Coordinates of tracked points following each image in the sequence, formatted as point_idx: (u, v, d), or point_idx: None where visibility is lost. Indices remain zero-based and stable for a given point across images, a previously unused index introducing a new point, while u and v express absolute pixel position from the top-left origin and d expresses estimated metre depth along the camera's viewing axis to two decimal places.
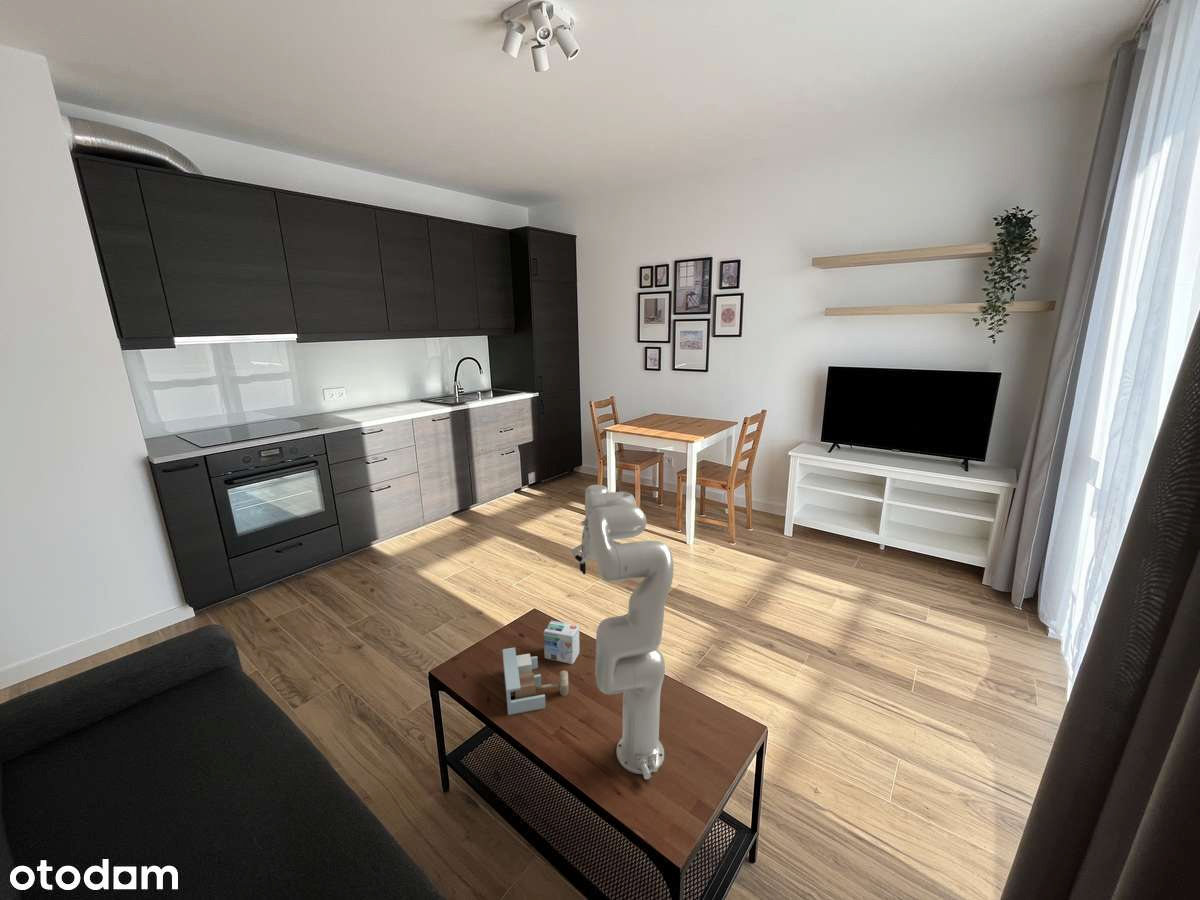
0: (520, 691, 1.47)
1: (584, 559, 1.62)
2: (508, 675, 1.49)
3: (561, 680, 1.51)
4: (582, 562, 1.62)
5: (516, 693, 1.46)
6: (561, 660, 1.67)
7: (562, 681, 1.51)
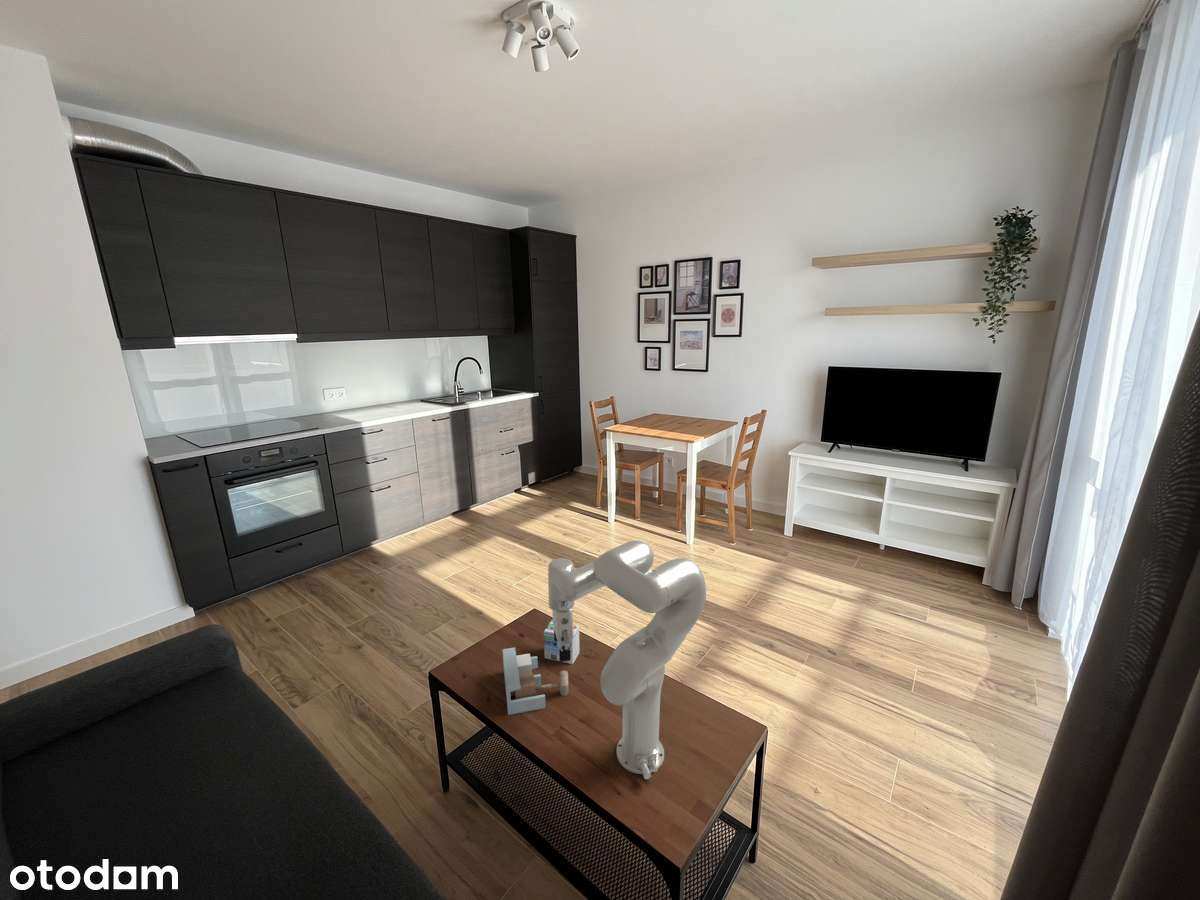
0: (520, 691, 1.47)
1: (569, 643, 1.45)
2: (508, 675, 1.49)
3: (561, 680, 1.51)
4: (569, 648, 1.44)
5: (516, 693, 1.46)
6: None
7: (562, 681, 1.51)
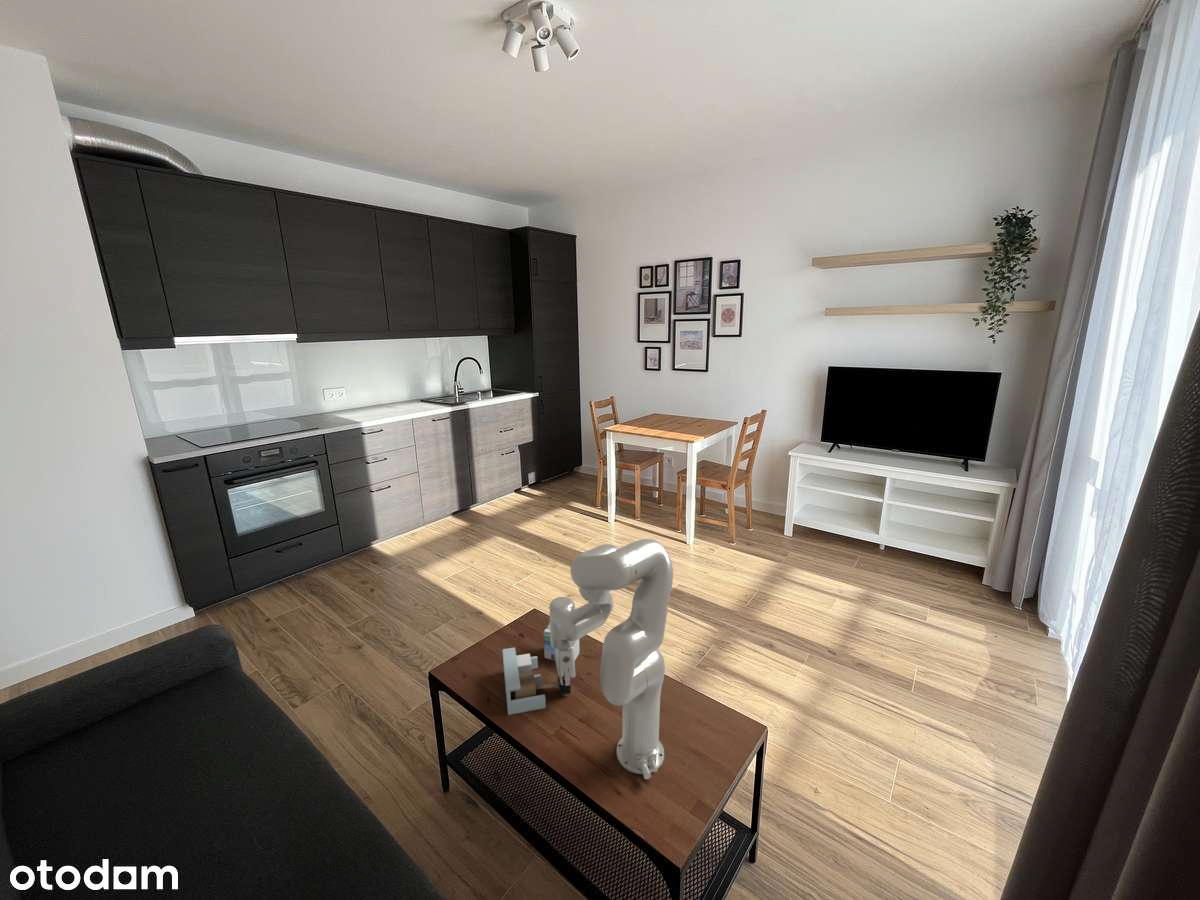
0: (520, 691, 1.47)
1: (569, 678, 1.50)
2: (508, 675, 1.49)
3: None
4: None
5: (516, 693, 1.46)
6: None
7: None
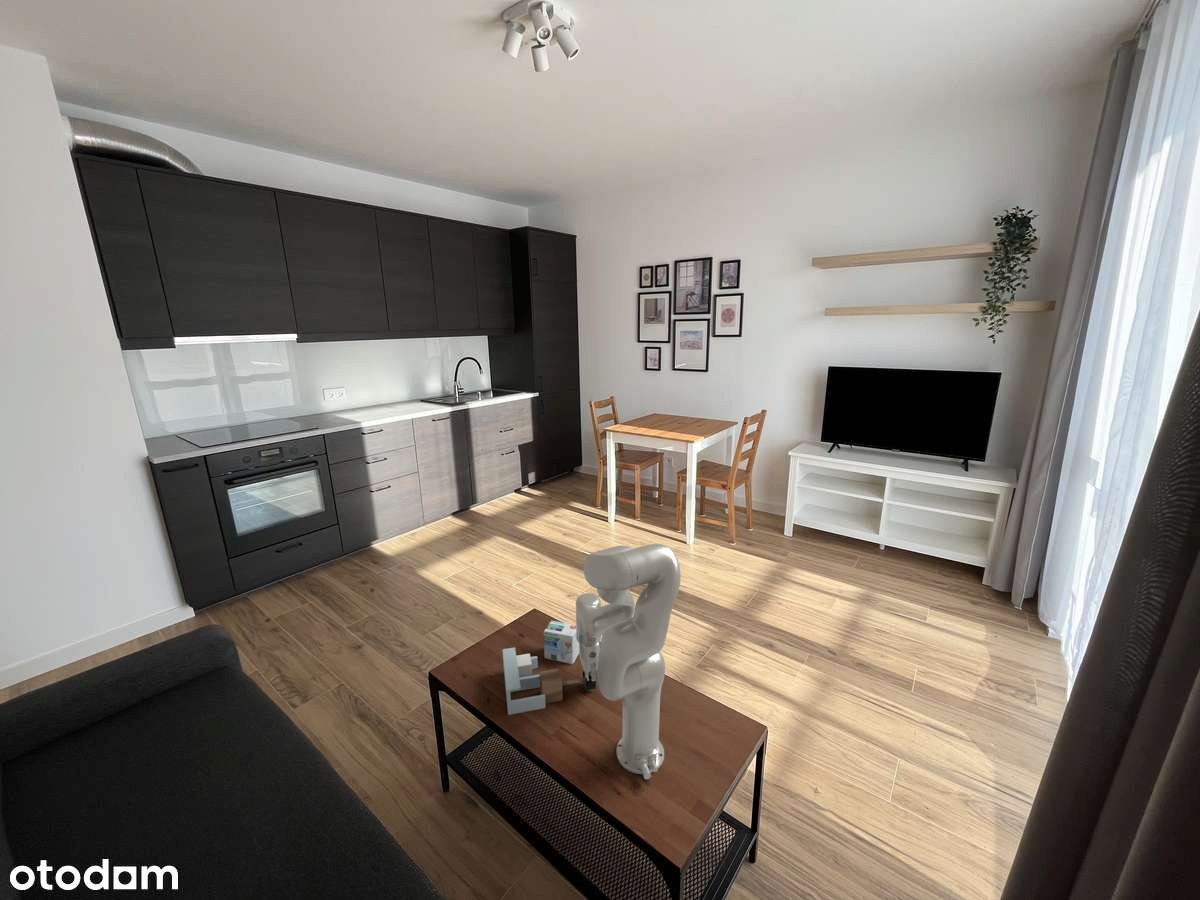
0: (547, 686, 1.48)
1: None
2: (508, 675, 1.49)
3: None
4: None
5: (543, 688, 1.48)
6: (561, 660, 1.67)
7: None
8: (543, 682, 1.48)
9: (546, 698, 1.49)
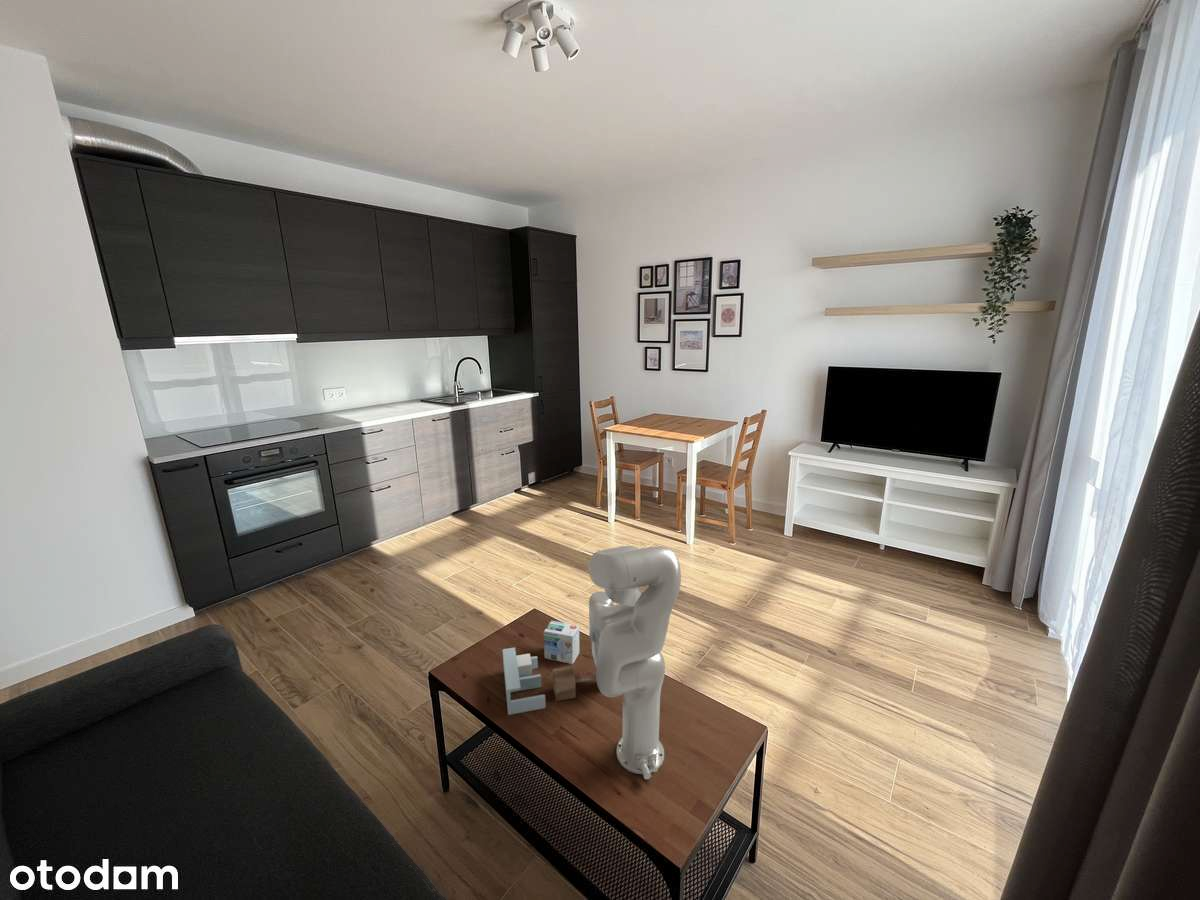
0: (560, 684, 1.49)
1: None
2: (508, 675, 1.49)
3: None
4: None
5: (556, 686, 1.49)
6: (561, 660, 1.67)
7: None
8: (556, 679, 1.49)
9: (559, 695, 1.50)
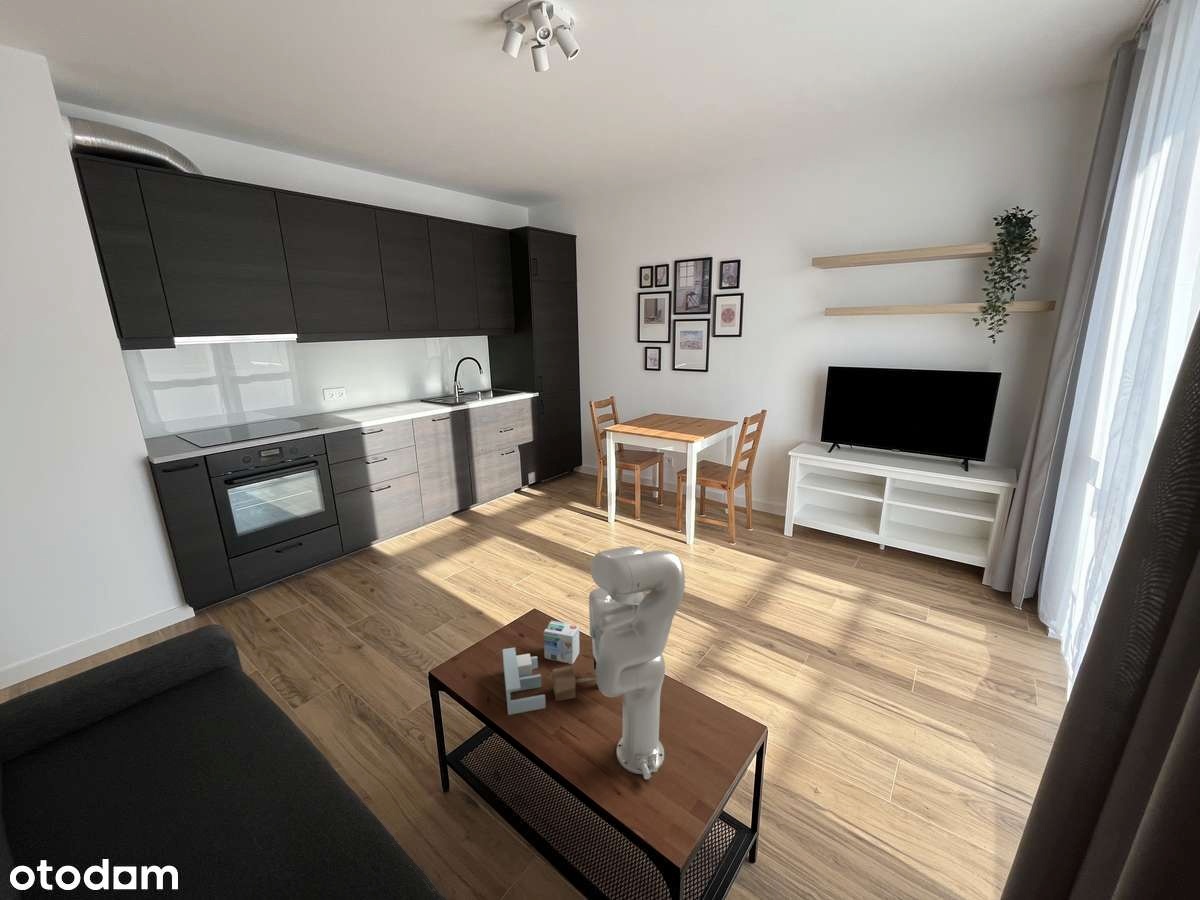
0: (560, 684, 1.49)
1: None
2: (508, 675, 1.49)
3: None
4: None
5: (556, 686, 1.49)
6: (561, 660, 1.67)
7: None
8: (556, 679, 1.49)
9: (559, 695, 1.50)
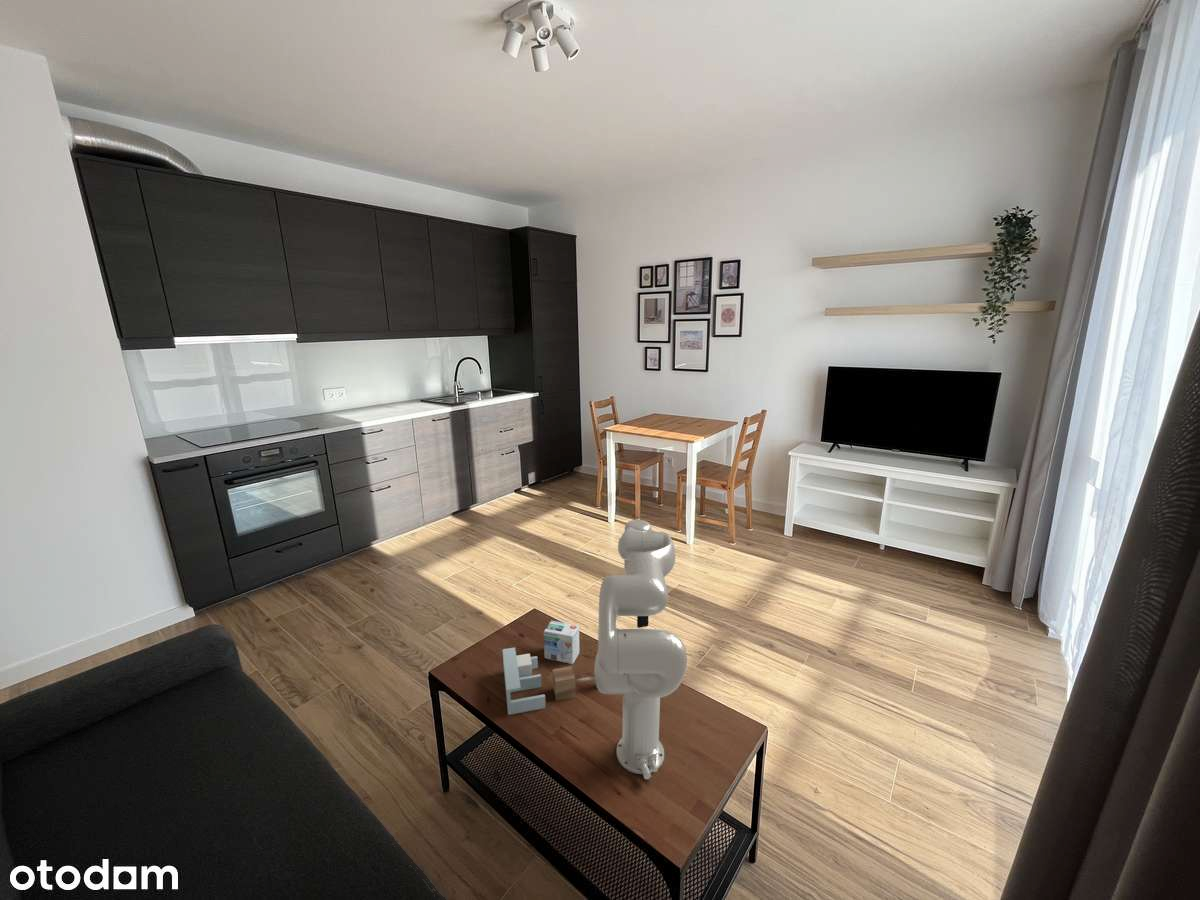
0: (560, 684, 1.49)
1: None
2: (508, 675, 1.49)
3: None
4: None
5: (556, 686, 1.49)
6: (561, 660, 1.67)
7: None
8: (556, 679, 1.49)
9: (559, 695, 1.50)
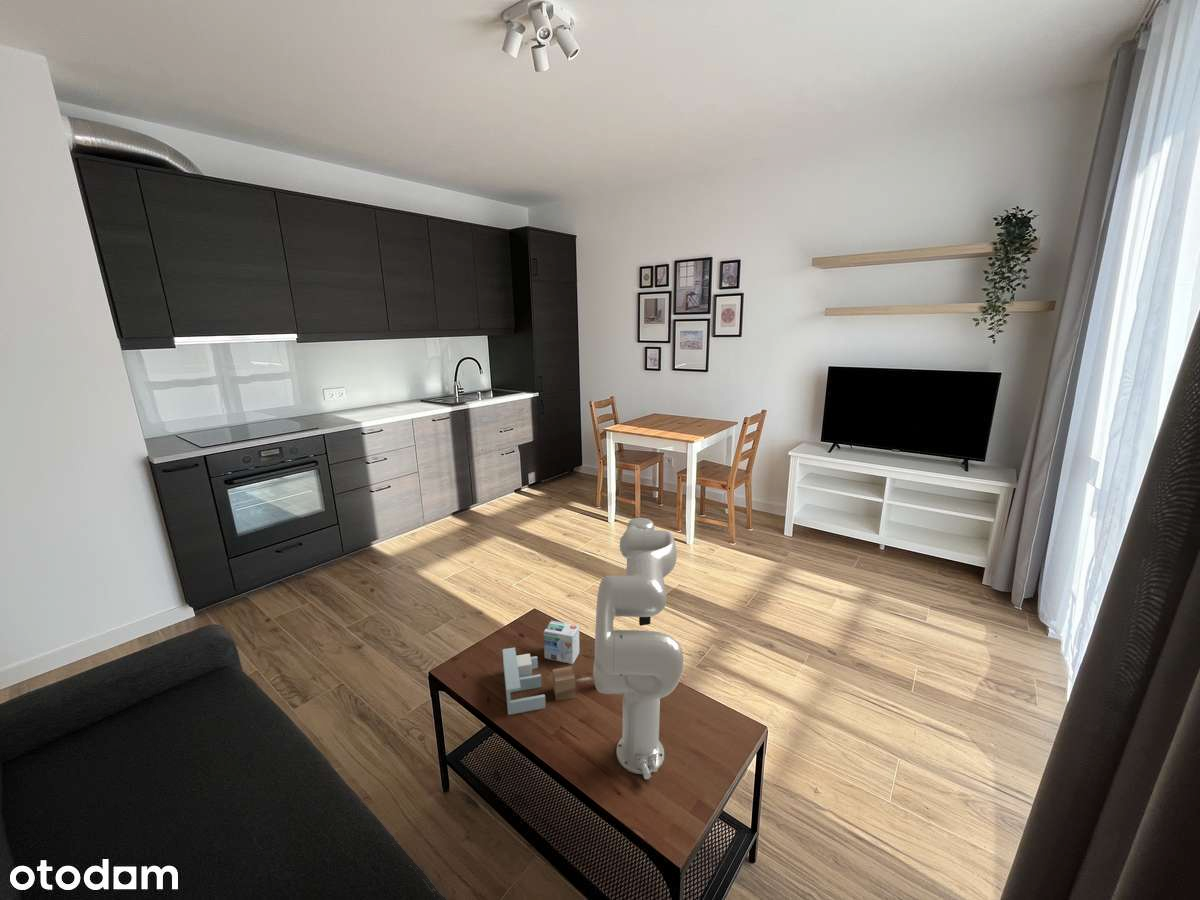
0: (560, 684, 1.49)
1: None
2: (508, 675, 1.49)
3: None
4: None
5: (556, 686, 1.49)
6: (561, 660, 1.67)
7: None
8: (556, 679, 1.49)
9: (559, 695, 1.50)
